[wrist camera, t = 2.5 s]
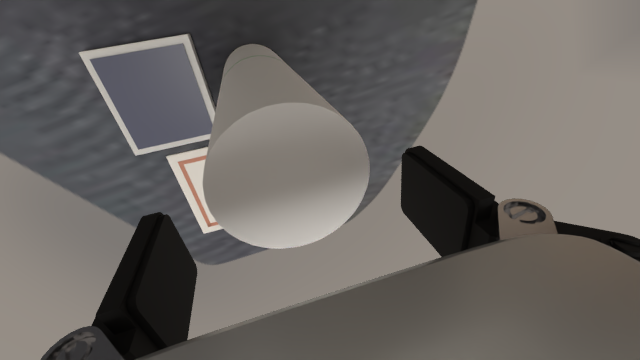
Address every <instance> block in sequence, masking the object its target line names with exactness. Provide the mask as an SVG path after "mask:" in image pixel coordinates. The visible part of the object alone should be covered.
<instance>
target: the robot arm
mask: <svg viewBox="0 0 640 360" xmlns="http://www.w3.org/2000/svg"><path fill="white" fill-rule="evenodd" d="M401 182H402V183H401V208H402V211H403V212H404V214H405V215H406V216H407V217H408V218H409V220H410V221H411V222H412V223H413V224H414V225H415V226H416V228H417V229H418V230H419V231H420V232H421V233H422V235H423V236H424V237H425V238H426V239H427V240H428V241H429V243H430V244H431V245H432V246H433V247H434V248H435V249H436V251H437V252H438V253H439V254H440V255H441V256H442V257H441V258H438V259H435V260H432V261H428V262H425V263H422V264H419V265H416V266H413V267H409V268H406V269H404V270H400V271H397V272H394V273H391V274H387V275H384V276H381V277H378V278H375V279H372V280H369V281H366V282H363V283H359V284H356V285H353V286H350V287H347V288H344V289H341V290H338V291H335V292H332V293H328V294H326V295H323V296H319V297H316V298H313V299H310V300H307V301H304V302H301V303H298V304H295V305H292V306H289V307H286V308H283V309H280V310H277V311H273V312H271V313H267V314H265V315H261V316H259V317H255V318H252V319H249V320H246V321H243V322H240V323H238V324H234V325H231V326H228V327H225V328H222V329H219V330H216V331H213V332H210V333H207V334H205V335H202V336H199V337H196V338H193V339H190V340H187V338H188V331H189V324H190V317H191V311H192V304H193V297H194V291H195V284H196V277H197V268H196V264H195V262H194V260H193V258H192V257H191V255H190V253H189V251H188V249H187V248H186V246H185V244H184V242H183V240H182V238H181V237H180V235H179V233H178V231H177V229H176V227H175V226H174V224H173V222H172V220H171V218H170V217H169V215H167V214H166V215H163V214H162V213H161V212H158V213H154V214H150V215H146V216H143V217H142V218H141V220H140V222H139V224H138V226H137V228H136V230H135V233H134V235H133V237H132V239H131V241H130V243H129V245H128V248H127V250H126V252H125V254H124V256H123V258H122V260H121V262H120V264H119V267H118V269H117V271H116V273H115V275H114V277H113V279H112V281H111V284H110V286H109V288H108V290H107V292H106V294H105V296H104V298H103V300H102V303H101V305H100V307H99V309H98V311H97V313H96V317H95V319H94V322H93V324H92V326H88V327H83V328H80V329H78V330H76V331H73V332H71V333H70V334H68V335H66V336H65V337H63V338H62V339H60V340H59V341H58V342H57V343H56V344H54V345H53V346H52V347H51V348H50V349H49V350H48V351H47V352H46V354H45V355H44V356H43V357H42V358H41V360H640V239H638V238H635V237H633V236H629V235H625V234H621V233H616V232H610V231H605V230H600V229H595V228H589V227H584V226H579V225H573V224H567V223H563V222H557V221H554V220H553V216H552V214H551V213H550V211H548V209H546V208H545V207H544V206H542V205H540V204H538V203H535V202H533V201H530V200H525V199H515V198H514V199H507V200H504V201H502V202H501V203H500V204H498V203H497V202H496V201H494V199H495V196H494V195H492V194H491V193H490V192H488V191H487V190H485V189H484V188H482V187H481V186H479V185H478V184H477V183H475V182H474V181H472V180H471V179H469V178H468V177H466V176H465V175H463V174H462V173H461V172H459V171H458V170H456V169H455V168H453V167H452V166H450V165H448V164H447V163H446V162H444V161H443V160H441V159H440V158H439V157H437V156H436V155H434V154H433V153H431V152H430V151H428V150H427V149H425V148H424V147H422V146H417V147H413V148H408V149H406V151H405V153H403V155H402V179H401Z"/></svg>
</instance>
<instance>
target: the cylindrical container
mask: <svg viewBox="0 0 640 360" xmlns="http://www.w3.org/2000/svg"><path fill="white" fill-rule="evenodd" d="M369 174H370V169H369V157H368V153H367V149H366V146H365V144H364V142H363V140H362V138H361V136H360V135H359V133H358V132H357V131H356V130H355V128H354V127H353V126H352V125H351V124H350V123H349V122H348V121H347V120H346V119H345V118H344V117H343V116H342V115H341V114H340V113H339V112H338V111H336V110H335V109H334V108H333V107H332V106H331V105H330V104H329V103H328V102H327V101H326V100H325V99H324V98H323V97H321V96H320V95H319V94H318V93H317V92H316V91H315V90H314V89H313V88H312V87H311V86H310V85H309V84H308V83H306V82H305V81H304V80H303V79H302V78H301V77H300V76H299V75H298V74H297V73H296V72H295V71H294V70H292V69H291V68H290V67H289V66H288V65H287V64H286V63H285V62H284V61H283V60H282V59H281V58H280V57H279V56H278V55H277V54H276V53H274V52H273V51H272V50H271V49H269V48H267V47H265V46H262V45H259V44H247V45H243V46H240V47H238V48H237V49H235V50H234V51H233V52H232V53H231V54H230V55H229V57H228V59H227V60H226V63H225V66H224V71H223V76H222V81H221V86H220V92H219V97H218V102H217V107H216V111H215V116H214V121H213V126H212V131H211V136H210V141H209V146H208V151H207V156H206V161H205V165H204V173H203V183H202V185H203V191H204V198H205V201H206V204H207V206H208V208H209V211H210V213H211V214H212V216H213V217H214V219H215V220H216V221H217V223H218V224H219V225H220V226H221V227H222V228H223V229H224V230H226V231H227V232H228V233H229V234H231V235H232V236H234V237H236V238H237V239H239V240H241V241H243V242H246V243H249V244H251V245H254V246H259V247H264V248H277V249H278V248H279V249H284V248H292V247H299V246H302V245H306V244H310V243H312V242H315V241H317V240H319V239H322V238H324V237H325V236H327V235H329V234H330V233H332V232H334V231H335V230H336V229H338V228H339V227H340V226H341V225H343V224H344V223H345V222H346V221H347V220H348V219H349V218H350V216H351V215H352V214H353V213H354V212H355V210H356V209H357V207H358V206H359V204H360V202H361V201H362V199H363V196H364V194H365V191H366V189H367V185H368V180H369Z"/></svg>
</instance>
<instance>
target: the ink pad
mask: <svg viewBox="0 0 640 360" xmlns="http://www.w3.org/2000/svg"><path fill="white" fill-rule="evenodd" d="M79 54H80V56H81V58H82V60H83V62H84V63H85V65H86V67H87V69H88V71H89V72H90V74H91V76H92V78H93V80H94V82H95V83H96V85H97V87H98V89H99V91H100V92H101V94H102V96H103V98H104V100H105V101H106V103H107V105H108V107H109V109H110V110H111V112H112V114H113V116H114V118H115V119H116V121H117V123H118V125H119V127H120V128H121V130H122V132H123V134H124V136H125V137H126V139H127V141H128V143H129V145H130V146H131V148H132V150H133V152H134V154H135V155H140V154H145V153H149V152H154V151H158V150H163V149H167V148H172V147H176V146H180V145H185V144H189V143H194V142H198V141H203V140H207V139H210V136H211V131H212V126H213V121H214V116H215V111H216V108H215V105H214V102H213V99H212V96H211V94H210V91H209V88H208V85H207V82H206V79H205V76H204V73H203V70H202V68H201V65H200V62H199V59H198V56H197V53H196V50H195V47H194V44H193V41H192V39H191V36H190V33H189V34H183V35H177V36H171V37H165V38H159V39H153V40H147V41H141V42H135V43H129V44H123V45H117V46H111V47H105V48H99V49H93V50H87V51H83V52H79Z"/></svg>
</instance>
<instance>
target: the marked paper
mask: <svg viewBox="0 0 640 360" xmlns="http://www.w3.org/2000/svg"><path fill="white" fill-rule="evenodd" d="M207 151H208V147H204V148H200V149H195V150H191V151H186V152H182V153H178V154H173V155H169V156H166V157H167V159H168V161H169V164H170V166H171V168H172V170H173V172H174V174H175V176H176V178H177V180H178V182H179V184H180V186H181V188H182V190H183V192H184V194H185V196H186V198H187V200H188V202H189V204H190V206H191V208H192V211H193V213H194V215H195V217H196V219H197V221H198V223H199V225H200V227H201V229H202V231H203V233H208V232H212V231H216V230H219V229H223V228H222V227H221V226H220V225H219V224H218V223H217V221H216V220H215V219H214V217H213V216H212V214H211V213H210V211H209V208H208V206H207V204H206V201H205V198H204V191H203V185H202V183H203V173H204V165H205V161H206V156H207Z"/></svg>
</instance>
